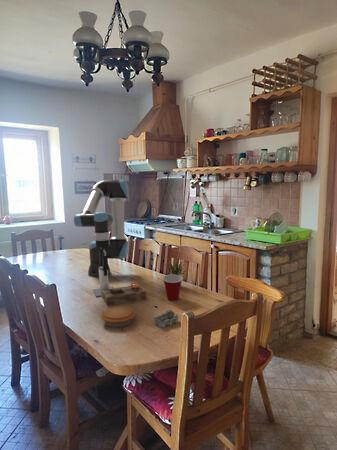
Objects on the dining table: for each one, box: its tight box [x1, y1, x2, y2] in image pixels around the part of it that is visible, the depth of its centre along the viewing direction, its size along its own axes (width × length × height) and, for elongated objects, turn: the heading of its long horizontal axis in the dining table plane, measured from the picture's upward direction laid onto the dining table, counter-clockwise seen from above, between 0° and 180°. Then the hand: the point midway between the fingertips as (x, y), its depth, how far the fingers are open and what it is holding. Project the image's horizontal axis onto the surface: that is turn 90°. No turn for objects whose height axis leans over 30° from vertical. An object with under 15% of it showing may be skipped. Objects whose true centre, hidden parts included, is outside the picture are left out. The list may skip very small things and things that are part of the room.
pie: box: [100, 306, 136, 328], centre depth 144 cm, size 16×16×5 cm
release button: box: [130, 282, 140, 290], centre depth 174 cm, size 4×4×6 cm
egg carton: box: [153, 309, 180, 328], centre depth 142 cm, size 11×8×4 cm
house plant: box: [166, 260, 186, 288], centre depth 188 cm, size 14×14×16 cm
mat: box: [92, 286, 115, 298], centre depth 183 cm, size 12×12×1 cm
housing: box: [101, 285, 147, 306], centre depth 172 cm, size 13×21×4 cm, turn 113°
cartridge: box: [98, 266, 110, 292], centre depth 182 cm, size 5×5×14 cm
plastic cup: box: [162, 273, 184, 302], centre depth 169 cm, size 11×11×12 cm
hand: (104, 279), depth 181 cm, fingers open, 6 cm apart
